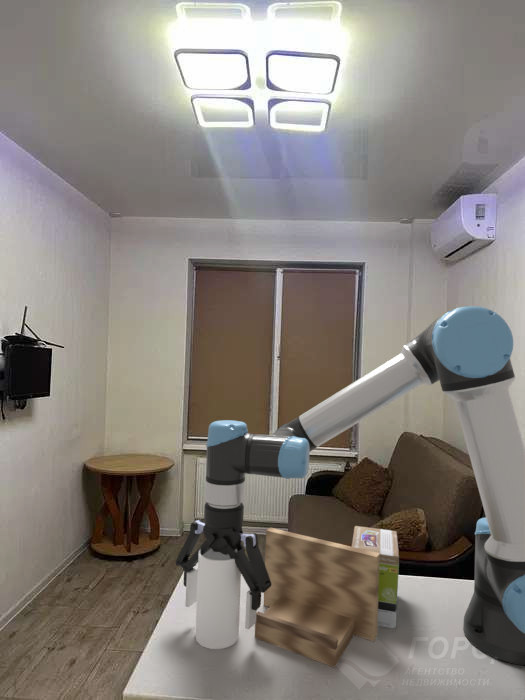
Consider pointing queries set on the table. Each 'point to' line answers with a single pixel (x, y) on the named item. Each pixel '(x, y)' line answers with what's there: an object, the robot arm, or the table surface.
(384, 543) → the tea box
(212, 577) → the cup
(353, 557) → the board
